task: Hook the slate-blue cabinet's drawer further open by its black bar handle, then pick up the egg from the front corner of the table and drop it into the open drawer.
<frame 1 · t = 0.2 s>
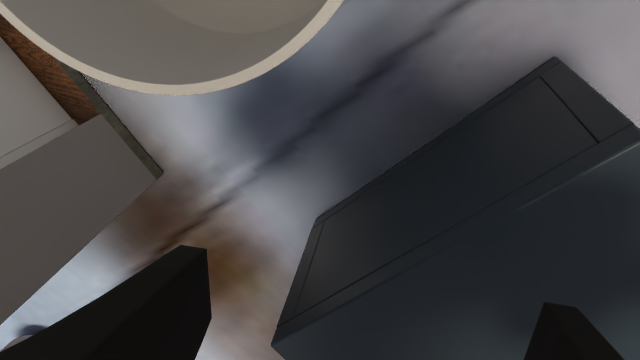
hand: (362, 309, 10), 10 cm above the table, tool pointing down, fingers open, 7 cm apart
cabinet: (514, 262, 21), on the table
cabinet 2: (69, 152, 22), on the table
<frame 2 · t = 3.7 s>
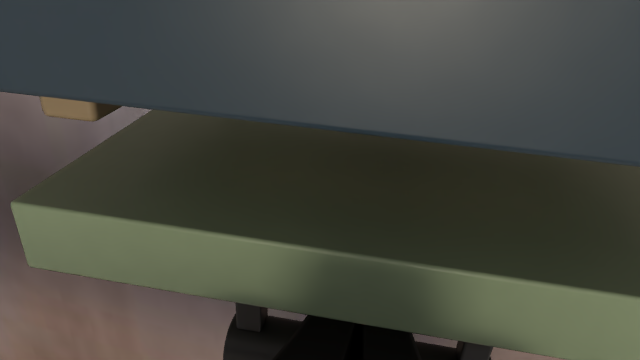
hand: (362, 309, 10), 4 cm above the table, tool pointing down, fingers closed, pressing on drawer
drawer: (399, 8, 7), point 4 cm above the table, slide at 2.0 cm, touching gripper
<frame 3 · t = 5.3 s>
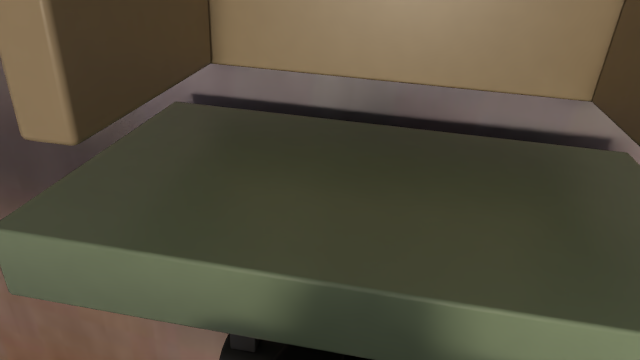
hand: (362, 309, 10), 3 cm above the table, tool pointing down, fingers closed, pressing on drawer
drawer: (397, 23, 7), point 4 cm above the table, slide at 7.2 cm, touching gripper
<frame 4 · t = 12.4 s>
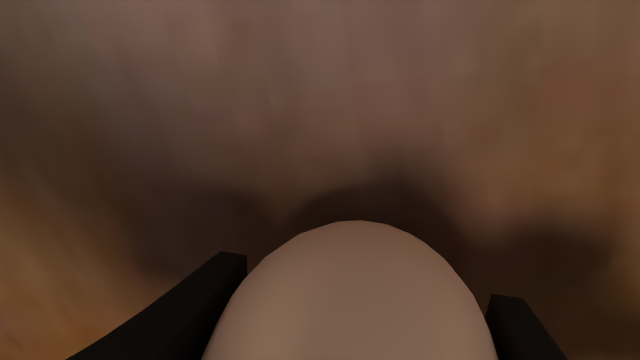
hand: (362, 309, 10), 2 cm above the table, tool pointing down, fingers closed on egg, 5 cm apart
egg: (368, 255, 12), on the table, touching gripper
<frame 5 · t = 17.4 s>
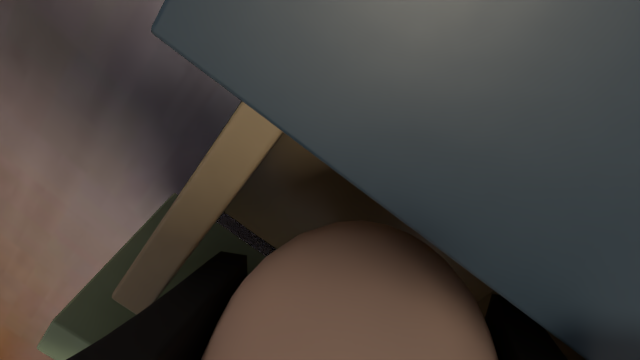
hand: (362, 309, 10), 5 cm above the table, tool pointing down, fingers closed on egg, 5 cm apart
drawer: (340, 295, 12), point 4 cm above the table, slide at 7.2 cm, touching gripper
egg: (368, 255, 12), point 3 cm above the table, touching gripper
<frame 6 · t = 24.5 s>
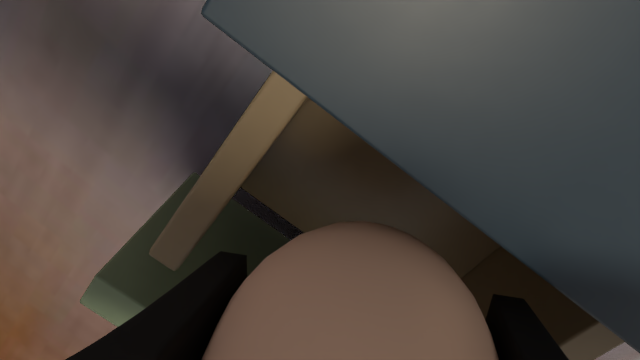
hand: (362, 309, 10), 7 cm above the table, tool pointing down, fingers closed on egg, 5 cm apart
drawer: (348, 259, 13), point 4 cm above the table, slide at 7.2 cm
egg: (369, 255, 12), point 5 cm above the table, touching gripper
when the fingers open (9 cm above the table, at t = 36.5 s): egg drops 5 cm, resting on drawer.
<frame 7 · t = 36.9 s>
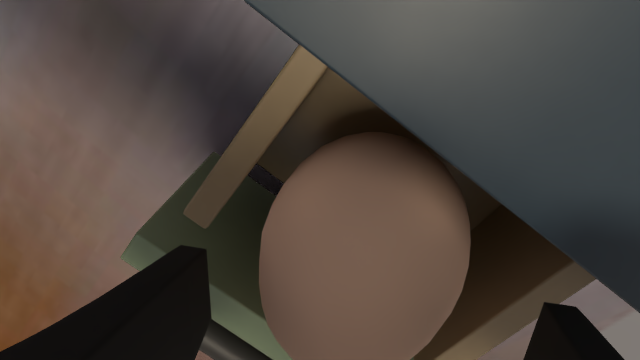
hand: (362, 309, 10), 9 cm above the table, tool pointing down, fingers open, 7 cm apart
drawer: (354, 224, 15), point 4 cm above the table, slide at 7.3 cm, touching egg
egg: (388, 176, 16), point 2 cm above the table, touching drawer
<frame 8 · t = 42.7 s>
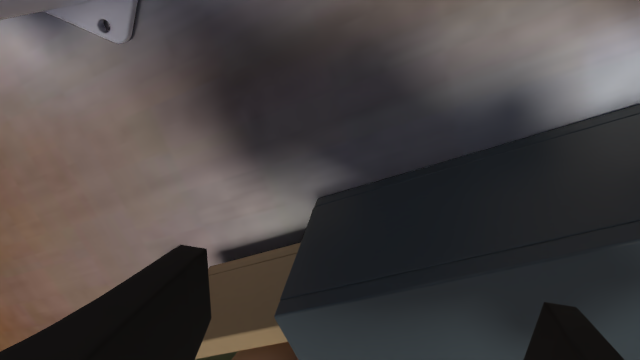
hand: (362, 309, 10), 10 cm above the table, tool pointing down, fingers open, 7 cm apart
egg: (296, 337, 23), point 2 cm above the table, touching drawer
cabinet: (503, 265, 21), on the table
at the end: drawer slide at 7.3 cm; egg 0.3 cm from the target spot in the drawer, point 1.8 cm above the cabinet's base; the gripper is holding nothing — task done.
